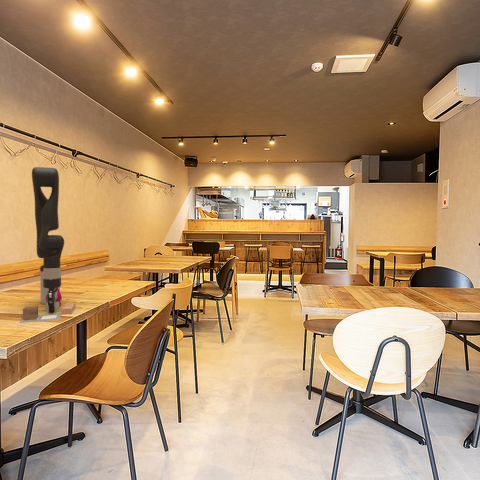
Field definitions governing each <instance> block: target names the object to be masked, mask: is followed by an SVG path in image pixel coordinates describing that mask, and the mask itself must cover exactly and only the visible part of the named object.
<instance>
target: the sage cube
mask: <svg viewBox="0 0 480 480" xmlns="http://www.w3.org/2000/svg"><path fill="white" fill-rule="evenodd" d="M50 303H53V302H50ZM54 311H55V312H54V313H57V312H59V311H60V307H59V302H55V306H54ZM45 313H46V314H48V313H49V306H48V302H47V304H45Z"/></svg>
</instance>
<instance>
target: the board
mask: <svg viewBox="0 0 480 480" xmlns="http://www.w3.org/2000/svg"><path fill="white" fill-rule="evenodd" d="M62 315H63V314H62V312H59V313H57V312H55V313H46V314H38V318H37V320H26V321H23V317H22V318H21V319H20V321H19V322H18V324H25V323H27V324H28V323H37V322H48V321H50V322H51V321H58V320H59V321H60V319H61V317H62Z"/></svg>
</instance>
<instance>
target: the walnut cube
mask: <svg viewBox="0 0 480 480" xmlns="http://www.w3.org/2000/svg"><path fill="white" fill-rule="evenodd" d="M38 315H39V305H29V306H24V307H23V308H22V318H23V321H26V320H37V318H38Z"/></svg>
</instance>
